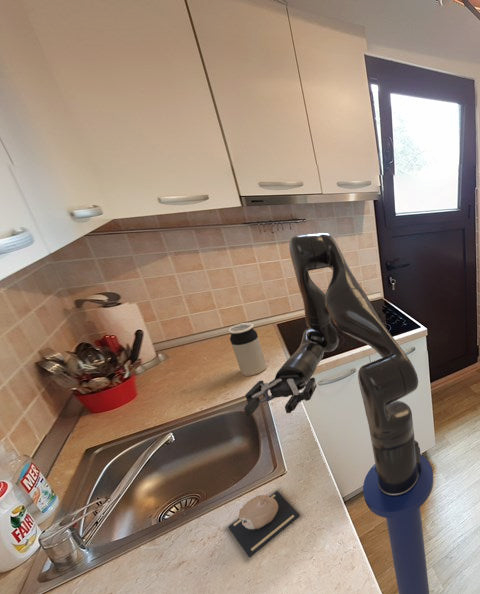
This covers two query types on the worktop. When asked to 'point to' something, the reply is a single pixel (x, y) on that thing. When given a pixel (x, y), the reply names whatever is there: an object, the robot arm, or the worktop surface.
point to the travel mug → (247, 349)
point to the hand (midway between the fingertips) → (267, 411)
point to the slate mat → (264, 527)
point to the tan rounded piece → (258, 512)
